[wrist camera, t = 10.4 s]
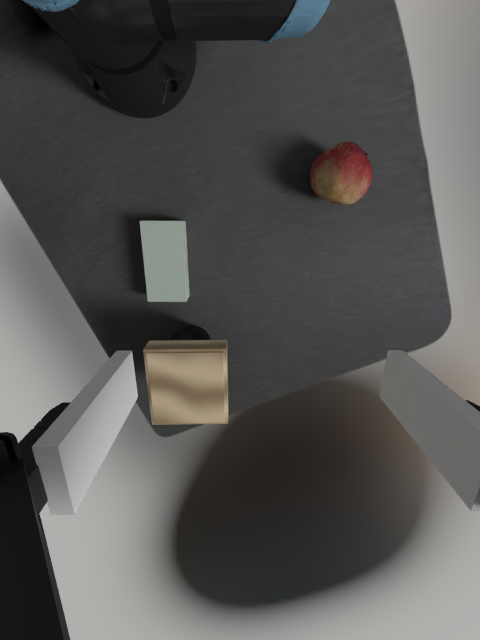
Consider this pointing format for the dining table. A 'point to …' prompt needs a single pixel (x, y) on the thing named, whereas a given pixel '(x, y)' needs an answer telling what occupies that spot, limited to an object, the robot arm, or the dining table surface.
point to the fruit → (341, 174)
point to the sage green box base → (165, 260)
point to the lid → (187, 381)
